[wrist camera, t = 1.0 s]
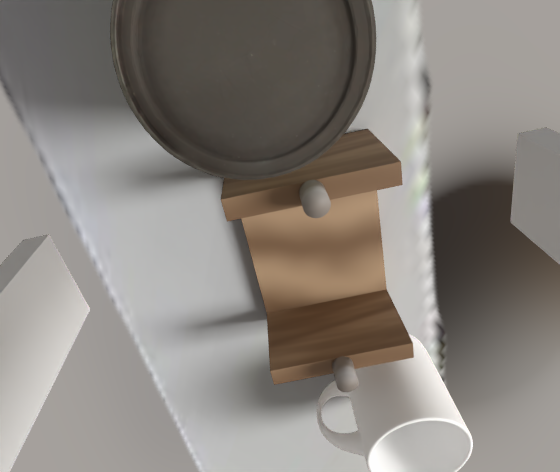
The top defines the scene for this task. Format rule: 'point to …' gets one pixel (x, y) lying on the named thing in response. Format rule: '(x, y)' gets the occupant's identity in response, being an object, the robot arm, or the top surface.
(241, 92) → the coffee can
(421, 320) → the top surface
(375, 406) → the mug
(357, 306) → the cradle
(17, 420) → the robot arm
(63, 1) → the top surface
